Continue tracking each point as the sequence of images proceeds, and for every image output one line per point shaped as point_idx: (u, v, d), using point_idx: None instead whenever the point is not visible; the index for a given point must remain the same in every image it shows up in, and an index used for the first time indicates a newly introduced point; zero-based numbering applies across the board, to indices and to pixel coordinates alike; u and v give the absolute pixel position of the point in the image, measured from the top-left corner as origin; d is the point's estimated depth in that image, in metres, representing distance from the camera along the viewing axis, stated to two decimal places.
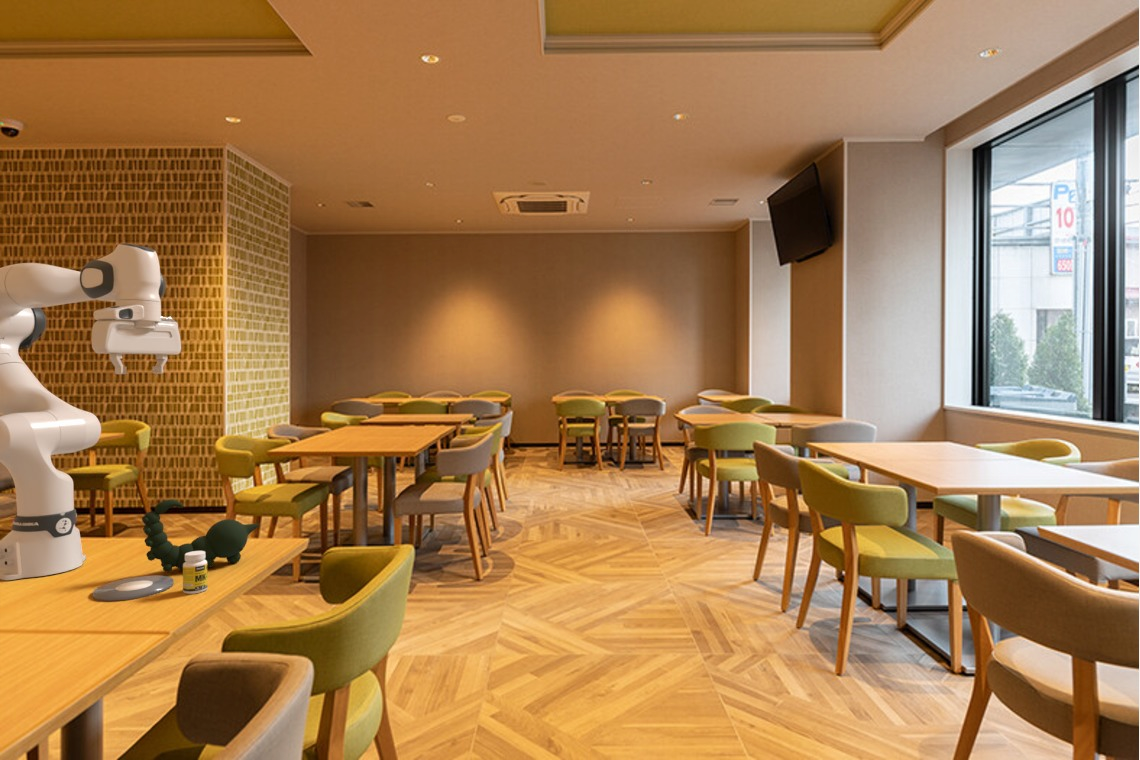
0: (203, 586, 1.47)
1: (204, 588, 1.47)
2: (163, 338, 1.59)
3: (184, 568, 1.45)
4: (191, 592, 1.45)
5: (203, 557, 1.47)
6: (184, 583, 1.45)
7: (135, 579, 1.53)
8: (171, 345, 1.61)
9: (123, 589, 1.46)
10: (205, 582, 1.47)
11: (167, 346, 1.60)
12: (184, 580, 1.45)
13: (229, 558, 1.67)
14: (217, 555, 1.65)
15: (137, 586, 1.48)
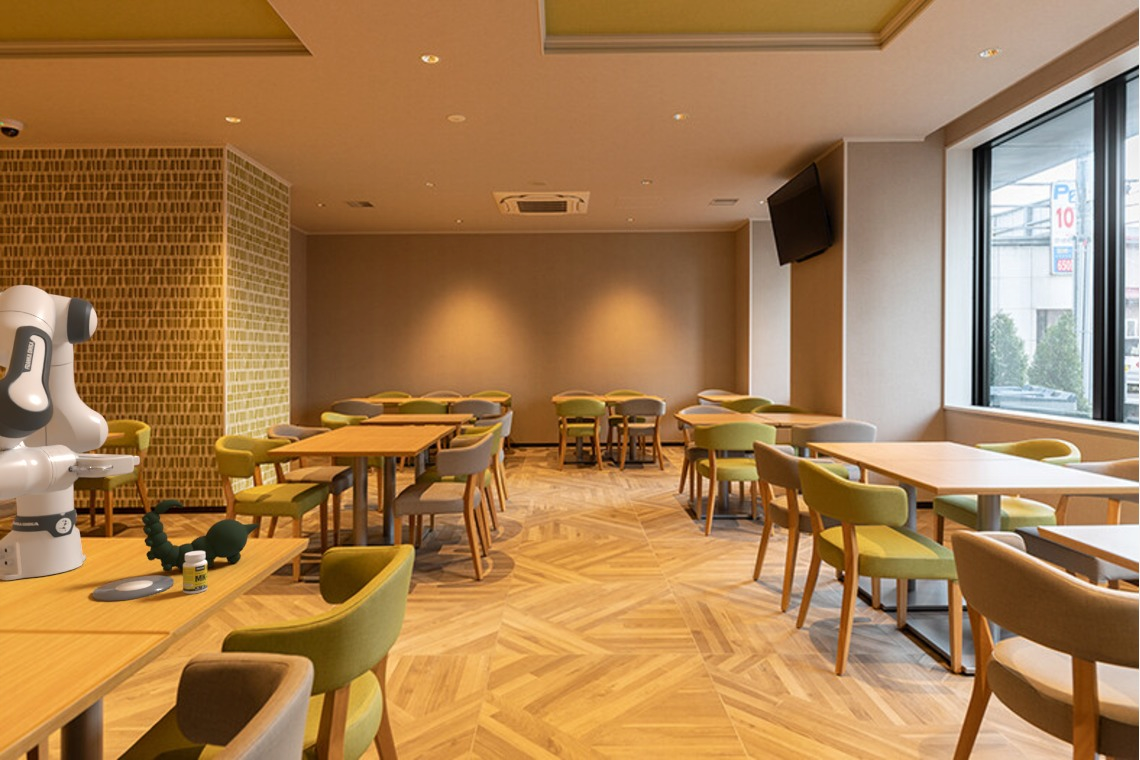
0: (203, 586, 1.47)
1: (204, 588, 1.47)
2: None
3: (184, 568, 1.45)
4: (191, 592, 1.45)
5: (203, 557, 1.47)
6: (184, 583, 1.45)
7: (135, 579, 1.53)
8: None
9: (123, 589, 1.46)
10: (205, 582, 1.47)
11: None
12: (184, 580, 1.45)
13: (229, 558, 1.67)
14: (217, 555, 1.65)
15: (137, 586, 1.48)
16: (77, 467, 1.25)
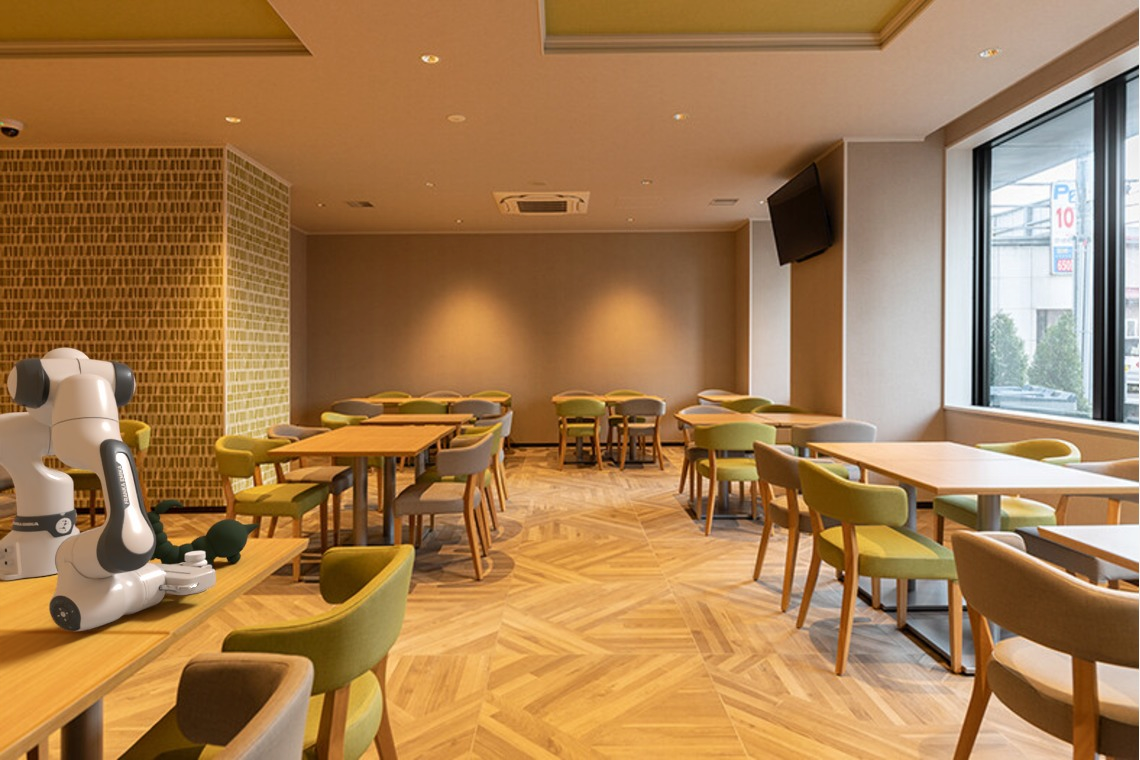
0: None
1: None
2: None
3: None
4: None
5: (203, 557, 1.47)
6: None
7: None
8: None
9: None
10: None
11: None
12: None
13: (229, 558, 1.67)
14: (217, 555, 1.65)
15: None
16: (167, 586, 1.33)
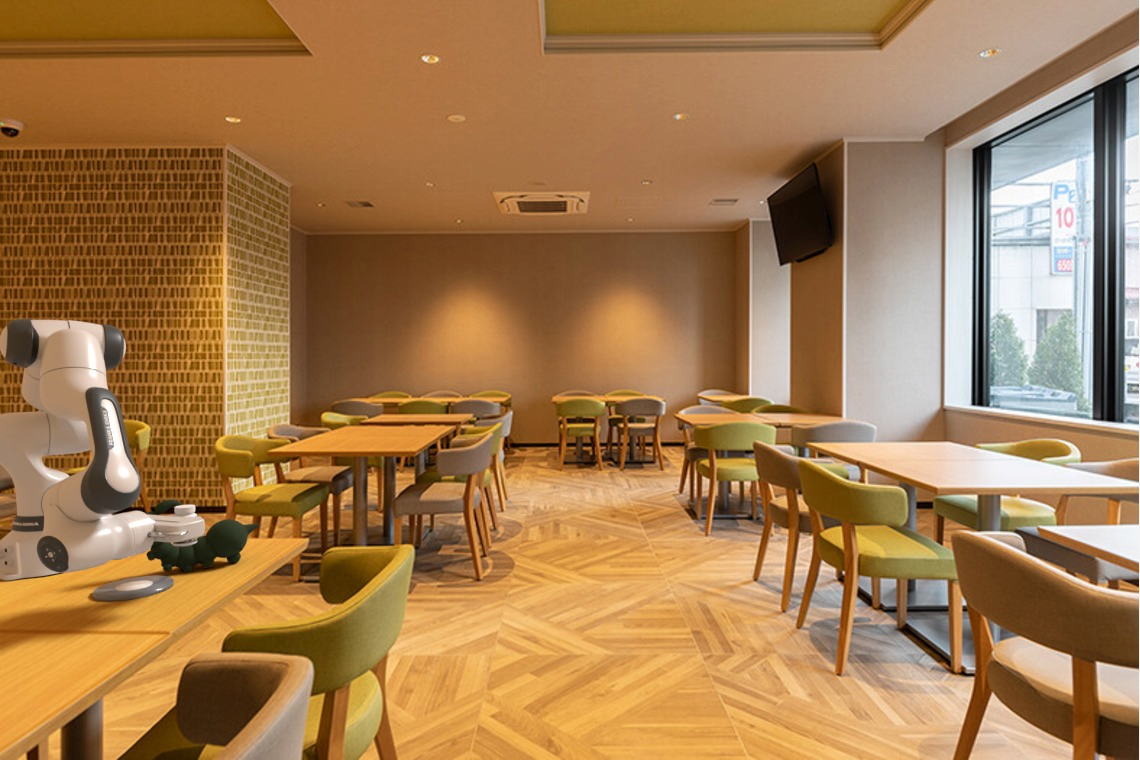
0: (193, 539, 1.47)
1: (194, 541, 1.47)
2: None
3: None
4: (180, 544, 1.45)
5: (193, 510, 1.47)
6: None
7: (135, 579, 1.53)
8: None
9: (123, 589, 1.46)
10: None
11: None
12: None
13: (229, 558, 1.67)
14: (217, 555, 1.65)
15: (137, 586, 1.48)
16: (156, 533, 1.34)
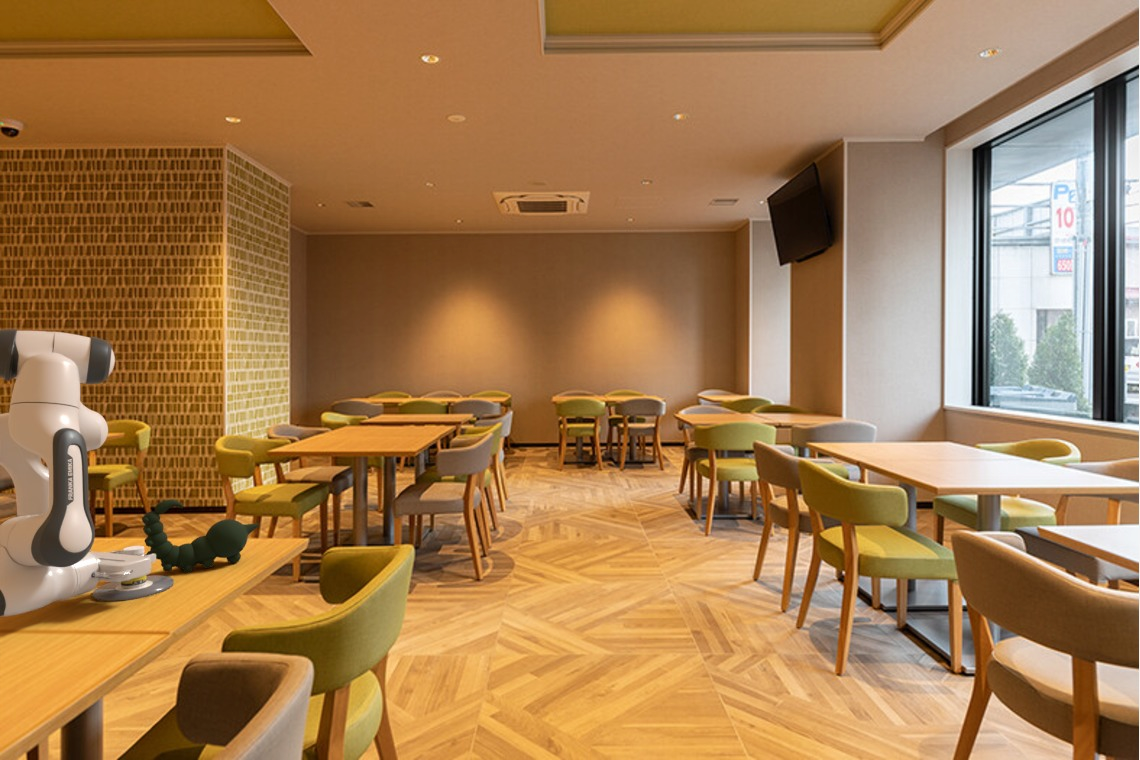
0: (141, 580, 1.48)
1: (142, 583, 1.48)
2: None
3: None
4: (128, 587, 1.46)
5: (141, 552, 1.48)
6: None
7: None
8: None
9: (123, 589, 1.46)
10: (143, 577, 1.48)
11: None
12: None
13: (229, 558, 1.67)
14: (217, 555, 1.65)
15: None
16: (99, 573, 1.35)
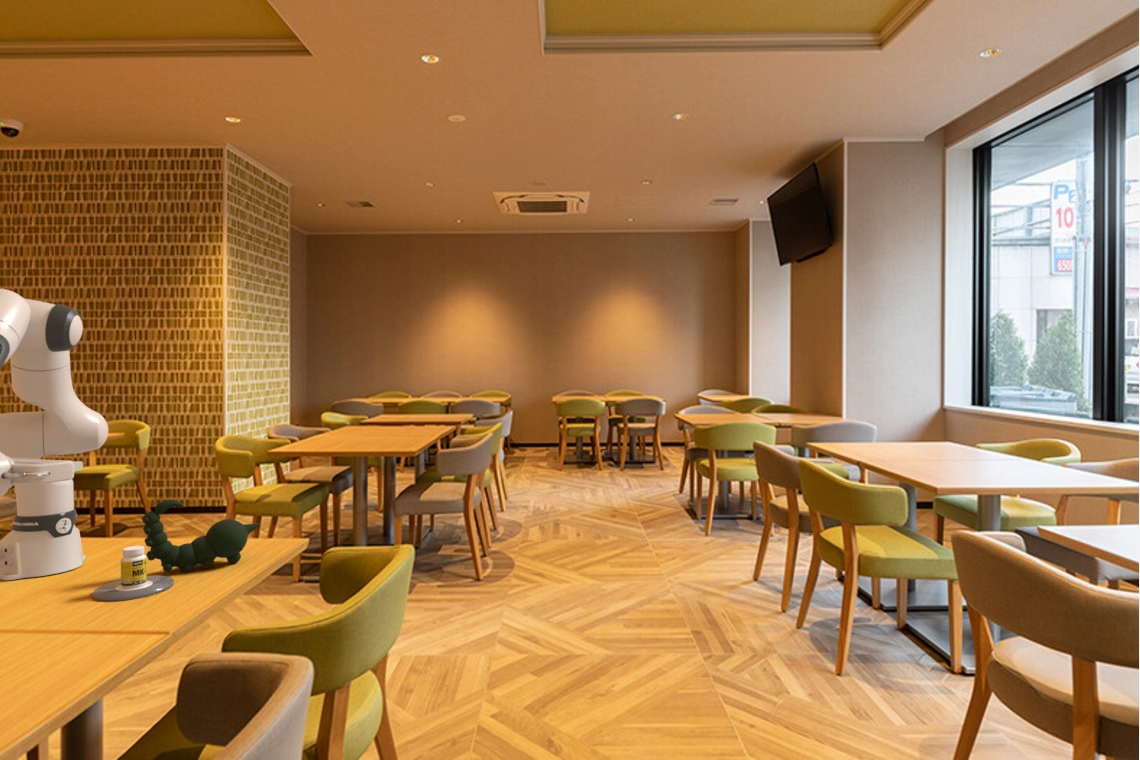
0: (141, 580, 1.48)
1: (142, 583, 1.48)
2: None
3: (122, 563, 1.46)
4: (128, 587, 1.46)
5: (141, 552, 1.48)
6: (122, 578, 1.47)
7: None
8: None
9: (123, 589, 1.46)
10: (143, 577, 1.48)
11: None
12: (122, 575, 1.47)
13: (229, 558, 1.67)
14: (217, 555, 1.65)
15: None
16: (10, 474, 1.19)
